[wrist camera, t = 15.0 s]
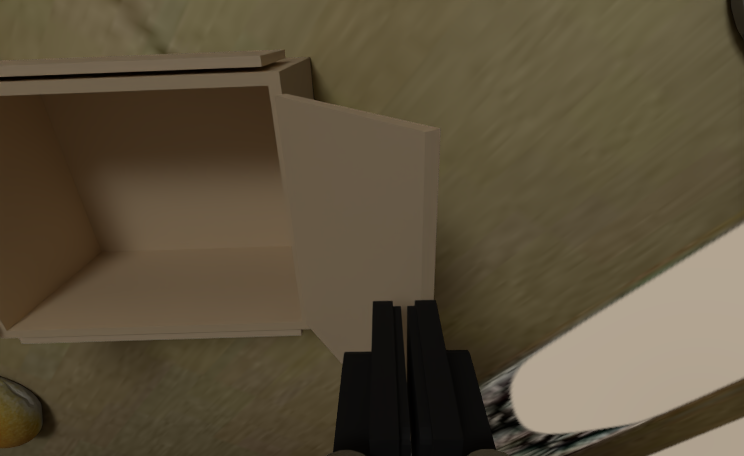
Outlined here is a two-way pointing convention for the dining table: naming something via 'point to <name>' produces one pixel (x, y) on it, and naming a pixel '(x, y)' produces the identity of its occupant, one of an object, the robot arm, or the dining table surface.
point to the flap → (359, 215)
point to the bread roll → (18, 414)
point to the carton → (147, 198)
